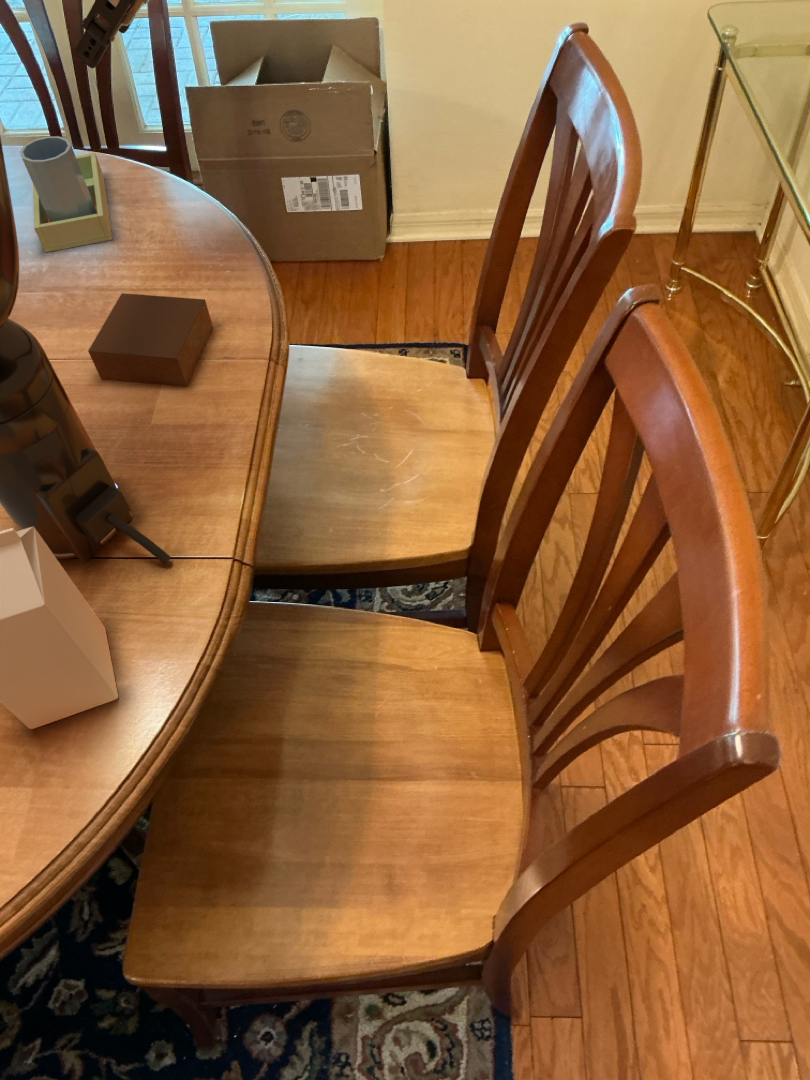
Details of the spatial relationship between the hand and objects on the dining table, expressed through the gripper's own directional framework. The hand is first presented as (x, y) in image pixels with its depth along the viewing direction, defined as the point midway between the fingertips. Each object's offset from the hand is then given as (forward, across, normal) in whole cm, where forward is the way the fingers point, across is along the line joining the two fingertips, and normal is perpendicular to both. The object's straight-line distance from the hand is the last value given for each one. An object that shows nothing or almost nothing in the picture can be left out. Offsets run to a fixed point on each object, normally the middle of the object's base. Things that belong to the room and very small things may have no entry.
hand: (100, 42), depth 81 cm
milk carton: (+8, +60, +26) cm, 66 cm away
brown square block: (+12, +20, +21) cm, 32 cm away
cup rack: (+27, -6, +6) cm, 29 cm away
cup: (+26, -3, +7) cm, 27 cm away
